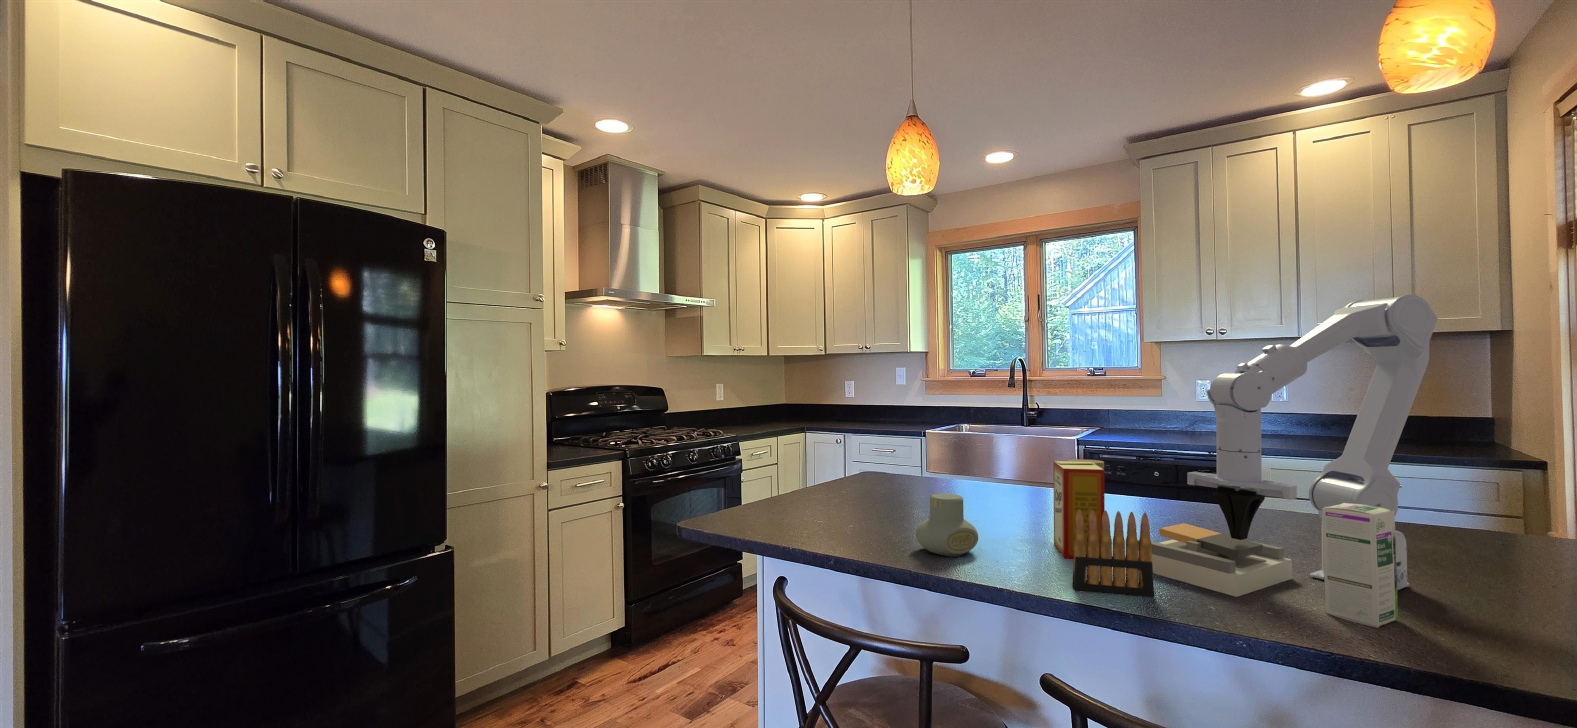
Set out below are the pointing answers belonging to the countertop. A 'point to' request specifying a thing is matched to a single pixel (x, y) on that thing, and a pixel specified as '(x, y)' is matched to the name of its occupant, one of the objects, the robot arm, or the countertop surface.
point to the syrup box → (1360, 563)
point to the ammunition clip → (1113, 557)
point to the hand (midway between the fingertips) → (1239, 538)
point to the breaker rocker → (1211, 540)
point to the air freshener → (947, 527)
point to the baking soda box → (1076, 501)
